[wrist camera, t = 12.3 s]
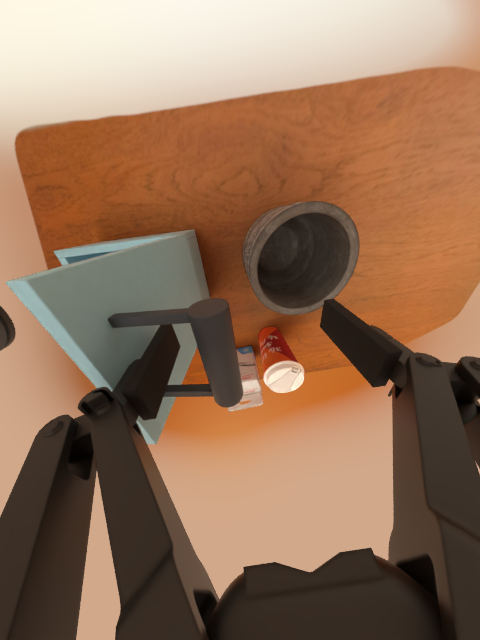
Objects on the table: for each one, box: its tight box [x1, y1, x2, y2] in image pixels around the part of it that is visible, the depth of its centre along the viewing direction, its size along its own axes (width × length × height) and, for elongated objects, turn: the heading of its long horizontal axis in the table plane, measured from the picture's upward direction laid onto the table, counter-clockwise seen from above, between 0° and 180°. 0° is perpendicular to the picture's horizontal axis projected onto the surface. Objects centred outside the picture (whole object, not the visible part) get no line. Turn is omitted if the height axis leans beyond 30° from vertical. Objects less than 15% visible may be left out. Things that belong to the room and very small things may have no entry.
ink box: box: [228, 346, 263, 412], centre depth 42 cm, size 9×5×15 cm, turn 104°
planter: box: [242, 201, 359, 315], centre depth 28 cm, size 14×14×15 cm
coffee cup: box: [258, 327, 304, 393], centre depth 39 cm, size 8×8×15 cm
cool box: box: [54, 229, 210, 300], centre depth 31 cm, size 18×14×10 cm
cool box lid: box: [6, 233, 243, 444], centre depth 18 cm, size 19×14×8 cm
